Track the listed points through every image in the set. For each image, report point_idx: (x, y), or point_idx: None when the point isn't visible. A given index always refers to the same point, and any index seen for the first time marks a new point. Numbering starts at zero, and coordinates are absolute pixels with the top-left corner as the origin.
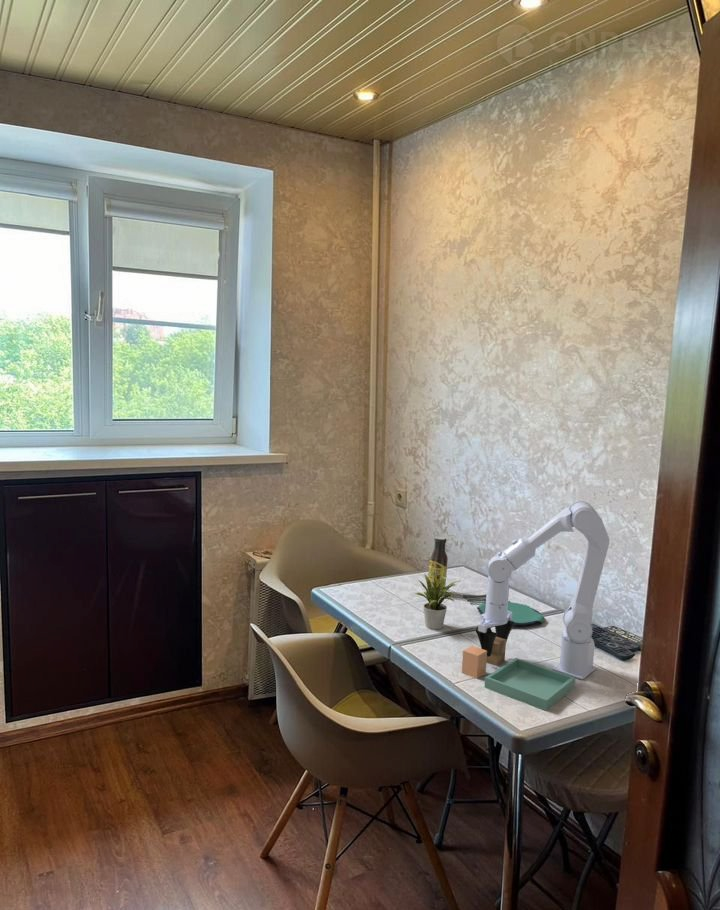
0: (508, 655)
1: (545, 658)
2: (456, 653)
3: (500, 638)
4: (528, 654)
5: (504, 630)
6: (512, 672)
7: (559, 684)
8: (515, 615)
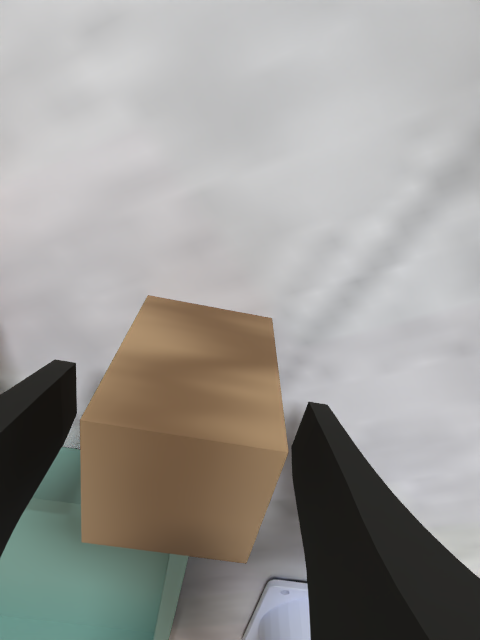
0: (347, 407)
1: None
2: (140, 23)
3: (242, 530)
4: (416, 481)
5: (328, 621)
6: None
7: (129, 614)
8: None
